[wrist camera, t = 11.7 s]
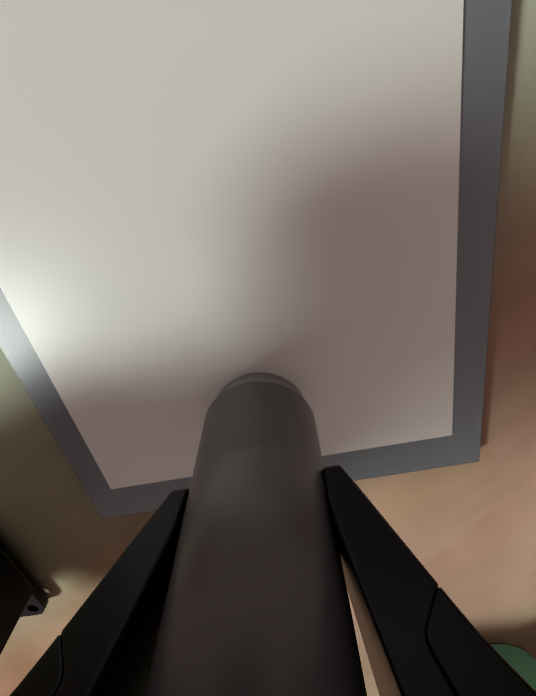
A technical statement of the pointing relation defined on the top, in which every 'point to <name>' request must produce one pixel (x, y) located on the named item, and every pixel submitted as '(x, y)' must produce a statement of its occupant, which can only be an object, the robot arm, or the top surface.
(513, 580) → the top surface
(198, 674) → the marker
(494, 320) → the top surface
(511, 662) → the mug
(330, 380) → the whiteboard
